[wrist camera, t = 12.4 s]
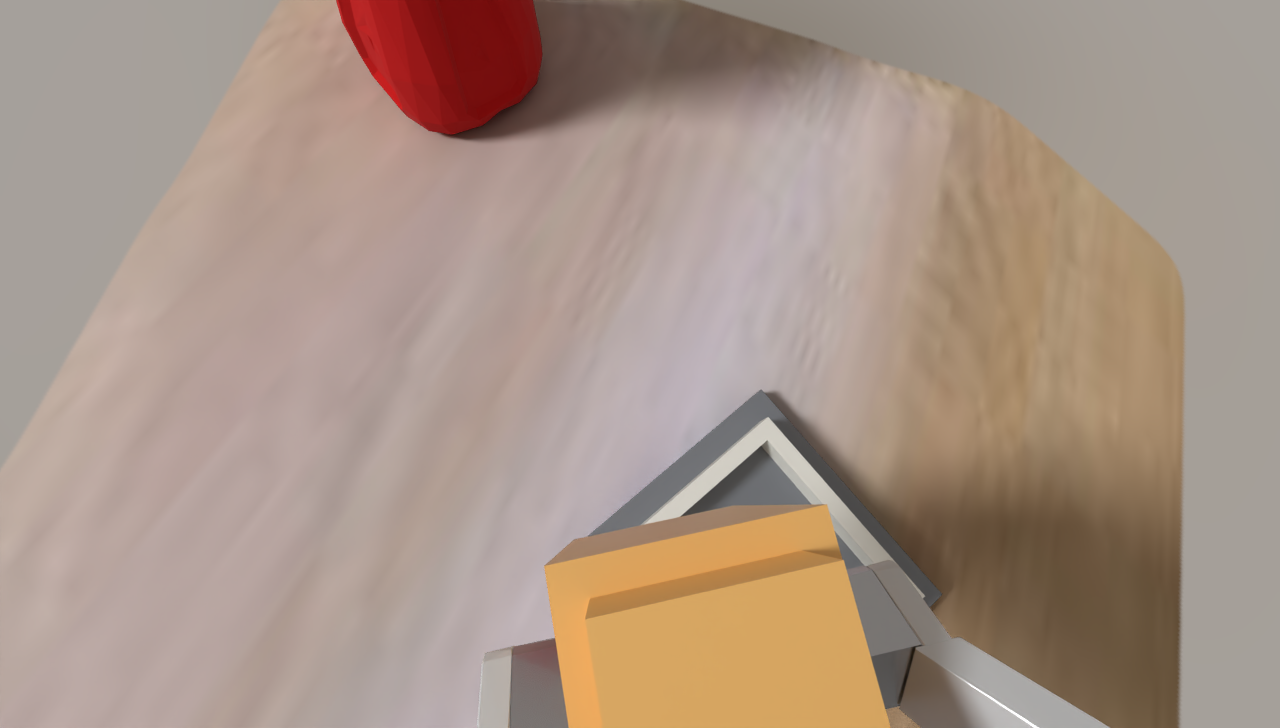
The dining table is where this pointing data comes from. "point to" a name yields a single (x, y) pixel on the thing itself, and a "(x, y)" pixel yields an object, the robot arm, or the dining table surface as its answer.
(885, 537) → the base
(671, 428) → the dining table surface
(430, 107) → the water bottle
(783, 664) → the stepped orange block
